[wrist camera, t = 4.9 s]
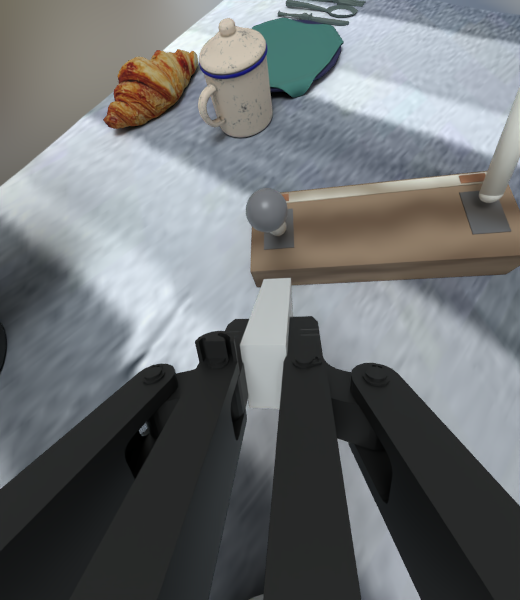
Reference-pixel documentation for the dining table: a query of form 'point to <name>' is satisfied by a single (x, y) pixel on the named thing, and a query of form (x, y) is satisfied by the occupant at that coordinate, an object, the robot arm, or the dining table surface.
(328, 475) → the robot arm
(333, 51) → the cutlery set
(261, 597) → the teacup
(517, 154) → the lever
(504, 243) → the switch box
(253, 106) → the teacup with lid
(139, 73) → the croissant
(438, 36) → the dining table surface
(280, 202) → the lever
